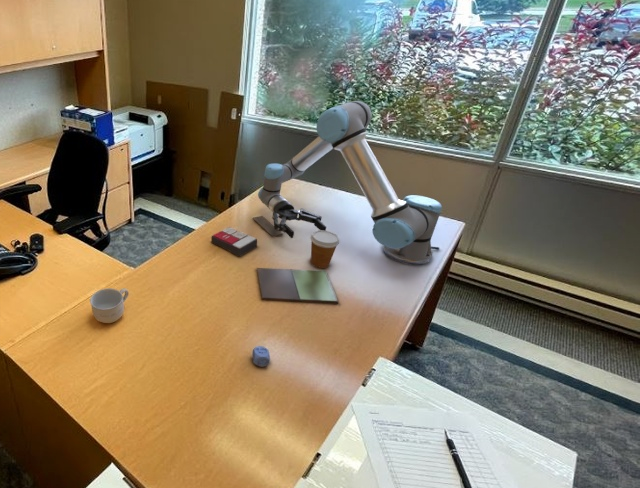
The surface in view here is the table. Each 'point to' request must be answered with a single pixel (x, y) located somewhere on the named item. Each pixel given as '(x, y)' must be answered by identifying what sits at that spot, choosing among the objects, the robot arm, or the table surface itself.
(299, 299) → the board
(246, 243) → the red and grey box
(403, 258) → the robot arm
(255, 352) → the decorative dice
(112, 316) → the teacup
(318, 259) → the disposable coffee cup
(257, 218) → the wooden plank
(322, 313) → the table surface
